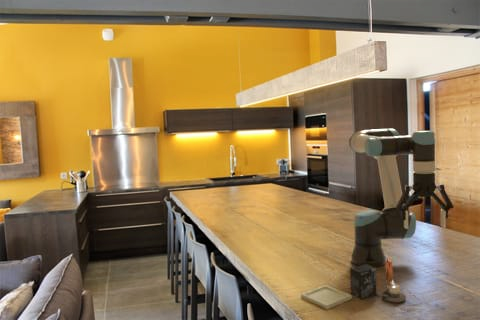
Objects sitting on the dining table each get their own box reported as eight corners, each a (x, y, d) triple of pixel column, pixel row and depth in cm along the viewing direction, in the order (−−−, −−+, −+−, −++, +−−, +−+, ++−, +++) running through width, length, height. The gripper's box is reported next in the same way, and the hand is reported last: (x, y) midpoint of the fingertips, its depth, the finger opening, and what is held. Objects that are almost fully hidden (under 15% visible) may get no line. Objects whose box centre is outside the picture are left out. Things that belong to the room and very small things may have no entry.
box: (360, 300, 146) (359, 271, 145) (350, 294, 152) (349, 267, 151) (377, 295, 149) (376, 267, 149) (366, 290, 155) (366, 263, 154)
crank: (401, 297, 143) (400, 270, 143) (388, 297, 144) (387, 270, 143) (394, 283, 156) (393, 258, 155) (382, 282, 157) (382, 258, 156)
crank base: (377, 298, 147) (377, 295, 147) (391, 292, 152) (390, 289, 151) (396, 305, 140) (396, 302, 140) (410, 299, 145) (410, 295, 145)
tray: (301, 297, 151) (301, 293, 151) (325, 288, 158) (325, 284, 158) (326, 309, 140) (326, 305, 140) (351, 299, 148) (351, 295, 147)
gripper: (454, 169, 153) (454, 223, 155) (387, 172, 155) (388, 225, 157) (463, 171, 146) (463, 229, 148) (392, 174, 148) (393, 231, 150)
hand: (424, 227), depth 153 cm, fingers open, 13 cm apart
